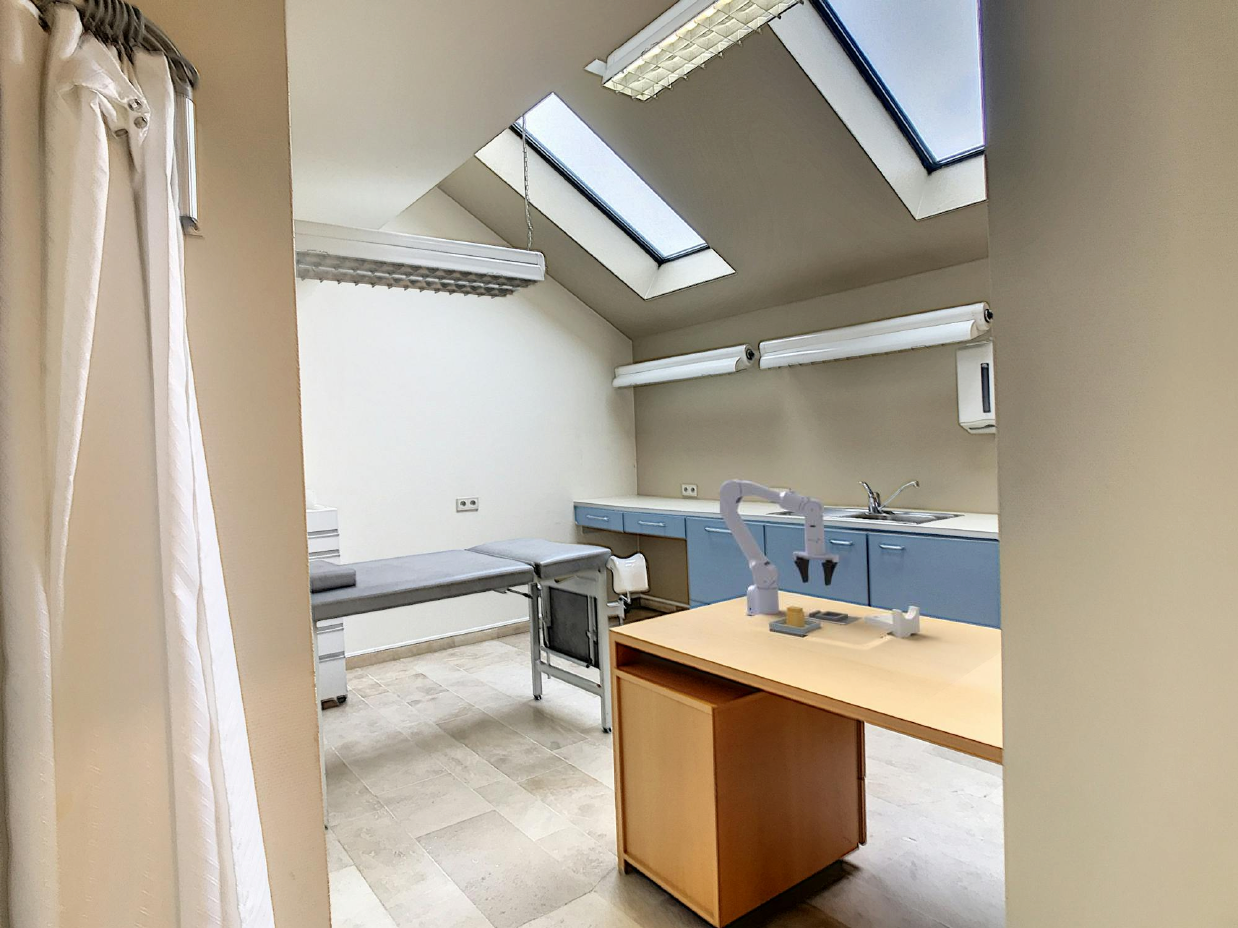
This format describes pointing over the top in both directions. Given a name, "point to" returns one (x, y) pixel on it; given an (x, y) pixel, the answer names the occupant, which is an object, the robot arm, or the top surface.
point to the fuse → (795, 617)
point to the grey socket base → (831, 617)
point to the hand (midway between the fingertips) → (816, 583)
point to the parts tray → (792, 627)
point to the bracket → (897, 622)
